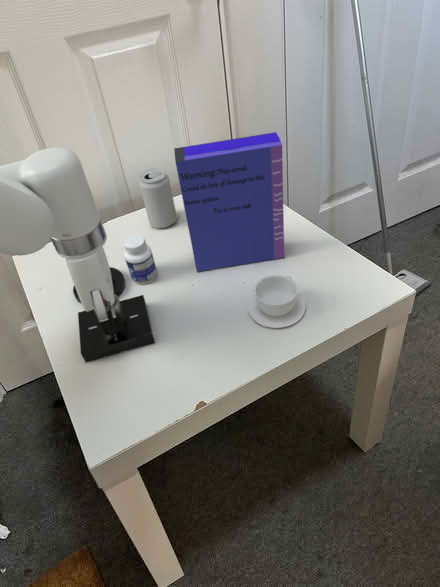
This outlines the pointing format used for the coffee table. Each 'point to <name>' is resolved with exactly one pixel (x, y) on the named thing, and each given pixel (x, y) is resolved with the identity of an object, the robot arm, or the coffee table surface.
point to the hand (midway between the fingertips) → (112, 318)
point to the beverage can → (158, 198)
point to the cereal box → (233, 200)
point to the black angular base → (130, 338)
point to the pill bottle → (139, 260)
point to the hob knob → (116, 309)
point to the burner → (116, 280)
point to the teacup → (276, 302)
